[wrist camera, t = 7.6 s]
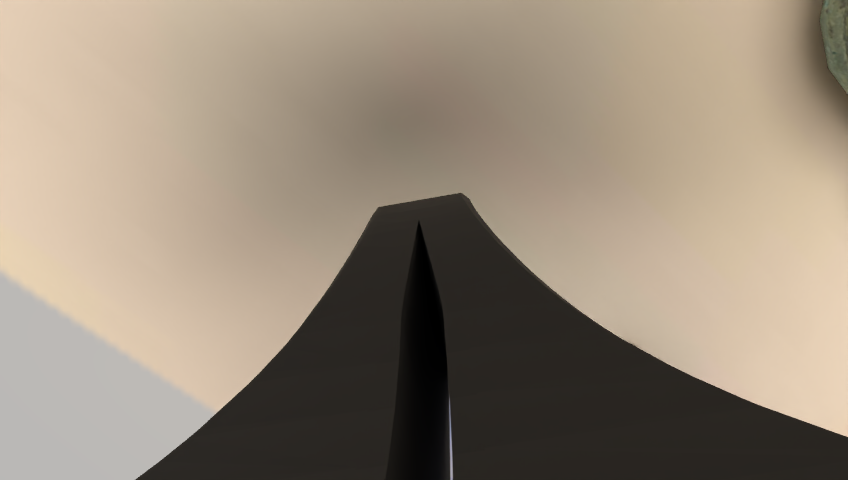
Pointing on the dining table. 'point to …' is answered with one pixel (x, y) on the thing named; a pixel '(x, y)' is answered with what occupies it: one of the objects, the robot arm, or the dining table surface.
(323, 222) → the dining table surface
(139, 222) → the dining table surface
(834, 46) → the vessel
